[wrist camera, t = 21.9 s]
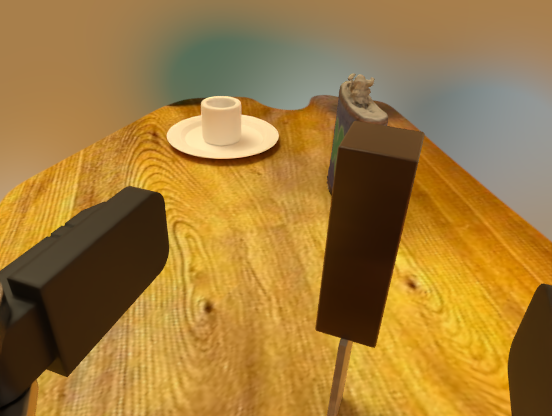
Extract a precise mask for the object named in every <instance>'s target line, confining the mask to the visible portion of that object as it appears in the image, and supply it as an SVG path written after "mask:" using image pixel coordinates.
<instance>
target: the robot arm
mask: <svg viewBox="0 0 552 416" xmlns="http://www.w3.org/2000/svg"><path fill="white" fill-rule="evenodd" d="M168 254H169V241H168V231H167V221H166V211H165V202H164V198H163V196H162V195H161V194H160V193H158V192H153V191H149V190H145V189H141V188H136V187H132V186H128V187H126V188H124V189H123V190H121V191H120V192H119V193H117V194H116V195H115V196H113V197H112V198H111V199H109V200H108V201H107V202H102V203H100V204H97V205H95V206H92V207H90V208H88V209H85V210H83V211H81V212H80V213H78V214H77V215H76V216H74V217H73V218H72V219H70V220H69V221H67V222H66V223H65V226H61V227H59V228H58V229H57V230H55V231H54V232H53V233H51V236H50V237H48V236H47V237H46V238H44V239H43V240H42V241H40V242H39V243H38V244H36V245H35V246H33V247H32V248H31V249H29V250H28V251H27V252H25V253H24V254H23V255H21V256H20V257H18V258H17V259H16V260H14V261H13V262H12V263H10V264H9V265H8V266H6V267H5V268H4V269H2V270H1V271H0V416H35V412H36V405H37V397H38V382H37V380H36V379H37V378H38V377H39V376H40V375H41V374H42V373H43V372H44V371H45V370H46V369H47V370H50V371H52V372H55V373H58V374H60V375H63V376H66V377H68V376H69V375H70V374H71V372H72V371H73V370H74V369H75V368H76V367H77V366H78V365H79V363H80V362H81V361H82V360H83V359H84V358H85V357H86V356H87V354H88V353H89V352H90V351H91V350H92V349H93V348H94V347H95V345H96V344H97V343H98V342H99V341H100V340H101V339H102V338H103V336H104V335H105V334H106V333H107V332H108V331H109V330H110V329H111V327H112V326H113V325H114V324H115V323H116V322H117V321H118V320H119V318H120V317H121V316H122V315H123V314H124V313H125V312H126V311H127V309H128V308H129V307H130V306H131V305H132V304H133V303H134V302H135V301H136V299H137V298H138V297H139V296H140V295H141V294H142V293H143V292H144V290H145V289H146V288H147V287H148V286H149V285H150V284H151V283H152V281H153V280H154V279H155V278H156V277H157V276H158V275H159V274H160V272H161V271H162V270H163V268H164V266H165V264H166V261H167V258H168ZM508 379H509V390H510V401H511V412H512V416H552V285H547V284H541V285H540V286H539V287H538V288H537V290H536V291H535V293H534V296H533V298H532V300H531V302H530V304H529V306H528V309H527V311H526V313H525V315H524V317H523V319H522V322H521V324H520V326H519V328H518V330H517V333H516V335H515V337H514V339H513V342H512V345H511V348H510V353H509V359H508Z"/></svg>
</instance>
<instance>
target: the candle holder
mask: <svg viewBox="0 0 552 416" xmlns="http://www.w3.org/2000/svg"><path fill="white" fill-rule="evenodd" d="M278 138H279V134H278V131H277V130H276V129H275V128H274V127H273V126H272V125H271V124H269V123H267V122H265V121H263V120H261V119H258V118H255V117H251V116H246V115H241V102H240V101H239V100H238V99H235V98H232V97H227V96H215V97H209V98H206V99H204V100H203V101H202V102H201V116H196V117H192V118H188V119H185V120H183V121H180V122H178V123H177V124H175V125H174V126H172V127H171V128H170V129H169V131H168V133H167V140H168V142H169V143H170V144H171V145H172V146H173V147H174V148H176V149H178V150H180V151H182V152H184V153H187V154H190V155H194V156H198V157H204V158H215V159H231V158H241V157H247V156H251V155H255V154H258V153H261V152H264V151H266V150H268V149H270V148H271V147H272V146H274V145H275V144H276V142H277V141H278Z"/></svg>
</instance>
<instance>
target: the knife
mask: <svg viewBox="0 0 552 416" xmlns="http://www.w3.org/2000/svg"><path fill="white" fill-rule="evenodd" d="M423 139H424V133H423V132H419V131H413V130H407V129H401V128H395V127H389V126H383V125H377V124H371V123H365V122H359V121H354V122H353V124H352V125H351V127H350V129H349V130H348V132H347V134H346V135H345V137H344V138H343V140H342V142H341V143H340V145H339V147H338V151H337V159H336V167H335V175H334V183H333V191H332V199H331V207H330V215H329V224H328V232H327V240H326V248H325V256H324V264H323V272H322V280H321V288H320V296H319V304H318V312H317V320H316V331H319V332H322V333H326V334H329V335H332V336H336V337H339V338H341V340H340V343H339V347H338V353H337V359H336V365H335V371H334V377H333V383H332V389H331V395H330V401H329V407H328V413H327V416H337V414H338V411H339V407H340V404H341V400H342V396H343V391H344V385H345V380H346V375H347V370H348V364H349V359H350V354H351V349H352V343H353V342H356V343H359V344H363V345H366V346H369V347H373V348H375V346H376V343H377V339H378V334H379V330H380V326H381V321H382V317H383V313H384V308H385V304H386V300H387V295H388V291H389V287H390V282H391V278H392V274H393V269H394V265H395V261H396V256H397V252H398V248H399V243H400V239H401V235H402V230H403V226H404V222H405V217H406V213H407V209H408V204H409V200H410V196H411V191H412V187H413V183H414V178H415V174H416V170H417V165H418V161H419V156H420V152H421V148H422V143H423Z"/></svg>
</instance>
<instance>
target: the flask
mask: <svg viewBox="0 0 552 416" xmlns="http://www.w3.org/2000/svg"><path fill="white" fill-rule="evenodd" d="M354 76H355V74H351V75H349V78H348V80H349V81H345V82H344V83H343V84H342V85H341V86H340V91H339V100H338V108H337V116H336V123H335V130H334V139H333V147H332V154H331V160H330V167H329V170H328V176H327V180H328V181H327V184H328V189H329V192H330V193H331V195H332V191H333V183H334V175H335V167H336V159H337V151H338V147H339V145H340V143H341V142H342V140H343V138H344V137H345V135H346V134H347V132H348V130H349V129H350V127H351V125H352V124H353V122H354V121H359V122H365V123H371V124H377V125H383V126H387V123H388V115H387V114H386V113H385V112H384V111H382V109H380V108H379V107H378V106H377V105H376V104H375V103H374V102H373V100H372V99H371V97H370V96H369V94H370V93H371V92H370V89H369V88H368V87H371V86H372V85H373V82H374V78H371V80H366V79H365V77H364V76H363V75H358V76H357V77H356V78H355V80H354V82H353V80H352V79H353V77H354ZM350 80H351V81H350Z"/></svg>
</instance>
